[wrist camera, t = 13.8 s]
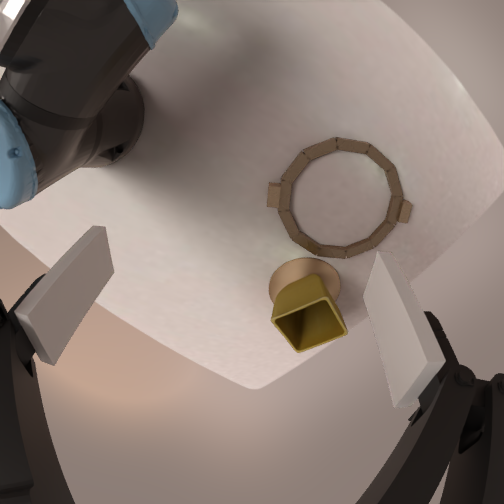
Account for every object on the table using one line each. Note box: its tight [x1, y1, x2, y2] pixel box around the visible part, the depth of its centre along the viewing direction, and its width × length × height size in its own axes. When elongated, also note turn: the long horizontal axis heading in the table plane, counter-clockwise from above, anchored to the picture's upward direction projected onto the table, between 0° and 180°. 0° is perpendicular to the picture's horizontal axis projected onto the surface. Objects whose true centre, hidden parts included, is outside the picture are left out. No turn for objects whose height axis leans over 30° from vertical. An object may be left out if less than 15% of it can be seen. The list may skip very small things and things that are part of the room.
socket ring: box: [267, 137, 412, 259], centre depth 41 cm, size 21×18×2 cm
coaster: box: [269, 258, 341, 304], centre depth 50 cm, size 12×12×1 cm
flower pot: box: [271, 274, 348, 353], centre depth 46 cm, size 9×9×9 cm
